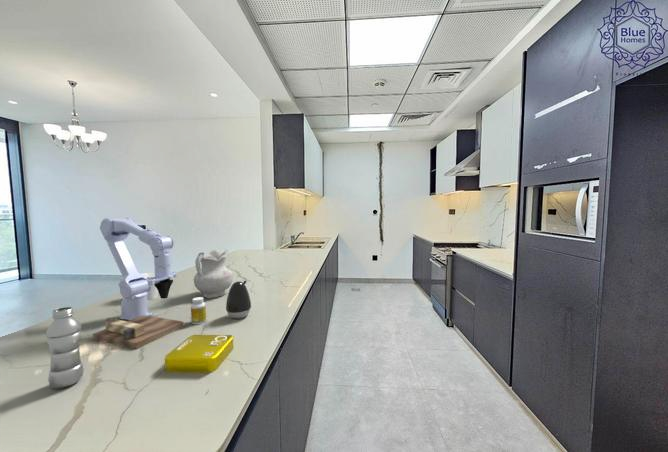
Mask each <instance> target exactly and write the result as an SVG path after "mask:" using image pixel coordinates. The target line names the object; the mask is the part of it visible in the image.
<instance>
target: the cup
mask: <svg viewBox="0 0 668 452" xmlns="http://www.w3.org/2000/svg"><path fill="white" fill-rule="evenodd" d="M142 274H143V275H145V276H146V278H147V279H148V280H150V279H152V278H154V277H155V271H154V272H145V273H142ZM158 294H159V292H158V290H157V288H156V287H155V286H154V285H151V289H150V291H149V292H148V294H147V301H149V299H151V300H153V299H156V297H157V298H158Z"/></svg>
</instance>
